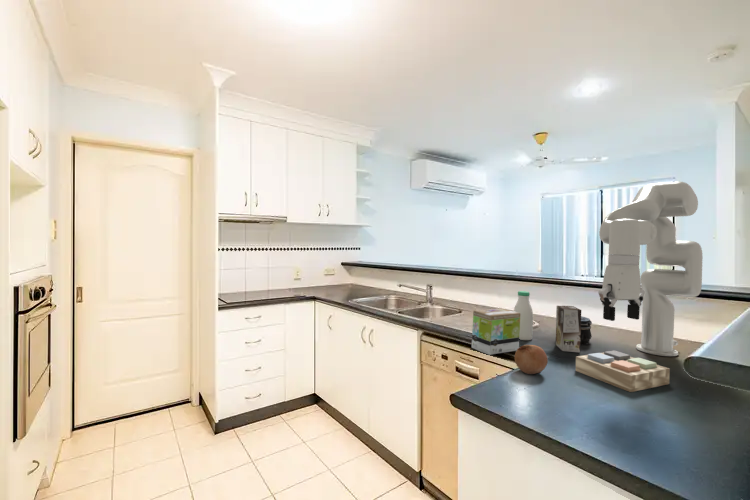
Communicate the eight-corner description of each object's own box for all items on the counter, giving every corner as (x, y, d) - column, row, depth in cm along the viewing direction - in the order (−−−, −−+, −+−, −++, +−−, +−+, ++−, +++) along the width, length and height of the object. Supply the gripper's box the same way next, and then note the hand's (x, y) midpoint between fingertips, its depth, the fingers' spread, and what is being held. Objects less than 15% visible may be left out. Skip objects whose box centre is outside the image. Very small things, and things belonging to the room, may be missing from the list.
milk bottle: (533, 337, 152) (534, 291, 152) (530, 341, 146) (532, 293, 145) (514, 334, 156) (515, 289, 156) (511, 338, 150) (512, 291, 149)
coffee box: (580, 352, 132) (582, 309, 132) (562, 351, 133) (563, 308, 133) (572, 345, 141) (573, 305, 141) (554, 344, 142) (556, 304, 142)
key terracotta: (621, 369, 107) (622, 360, 107) (639, 375, 102) (639, 365, 102) (610, 371, 105) (610, 361, 105) (628, 378, 100) (628, 367, 100)
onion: (521, 384, 109) (509, 356, 108) (520, 366, 118) (509, 340, 116) (554, 378, 105) (542, 349, 104) (550, 360, 114) (539, 333, 112)
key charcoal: (614, 359, 117) (614, 350, 116) (629, 364, 112) (630, 355, 112) (603, 361, 115) (604, 351, 115) (619, 366, 110) (619, 356, 110)
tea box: (490, 356, 127) (491, 315, 126) (471, 348, 135) (472, 310, 135) (519, 350, 133) (521, 311, 133) (499, 343, 142) (500, 307, 142)
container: (580, 347, 139) (581, 322, 139) (550, 339, 150) (550, 315, 150) (598, 343, 146) (598, 319, 146) (567, 335, 157) (568, 313, 157)
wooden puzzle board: (611, 364, 120) (612, 351, 119) (669, 384, 104) (669, 368, 104) (575, 370, 113) (576, 356, 113) (630, 392, 97) (631, 375, 97)
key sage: (638, 367, 110) (638, 357, 109) (656, 372, 105) (656, 362, 105) (627, 369, 108) (627, 359, 108) (645, 374, 103) (645, 364, 103)
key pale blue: (598, 361, 114) (598, 352, 114) (613, 367, 109) (614, 357, 109) (587, 363, 112) (587, 354, 112) (602, 369, 107) (602, 359, 107)
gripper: (631, 261, 110) (629, 315, 110) (589, 260, 105) (587, 317, 105) (657, 262, 103) (655, 320, 103) (614, 261, 98) (611, 323, 98)
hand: (621, 319), depth 104 cm, fingers open, 9 cm apart
